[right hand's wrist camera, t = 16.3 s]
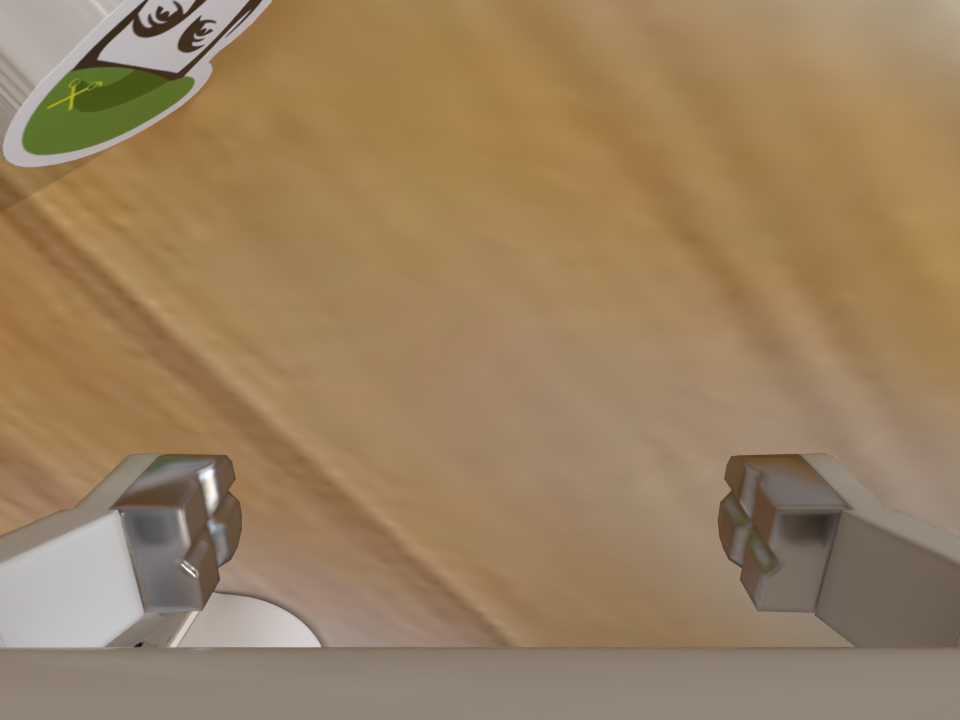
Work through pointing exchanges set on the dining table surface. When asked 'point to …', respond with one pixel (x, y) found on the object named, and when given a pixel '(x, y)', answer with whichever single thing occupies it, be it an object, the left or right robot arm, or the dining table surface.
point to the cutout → (103, 69)
